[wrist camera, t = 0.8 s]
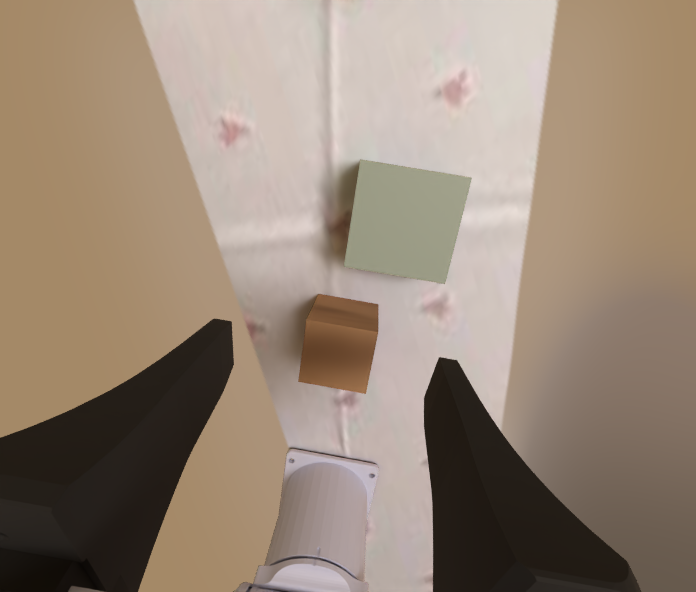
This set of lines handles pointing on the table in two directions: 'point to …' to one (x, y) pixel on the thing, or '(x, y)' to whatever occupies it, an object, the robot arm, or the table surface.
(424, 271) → the grey block
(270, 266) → the table surface
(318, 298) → the walnut block
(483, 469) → the robot arm
